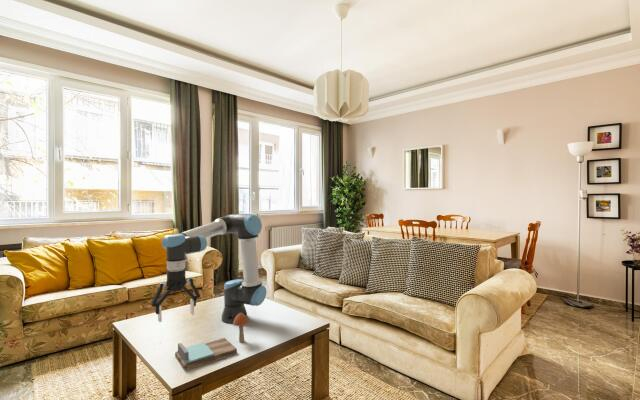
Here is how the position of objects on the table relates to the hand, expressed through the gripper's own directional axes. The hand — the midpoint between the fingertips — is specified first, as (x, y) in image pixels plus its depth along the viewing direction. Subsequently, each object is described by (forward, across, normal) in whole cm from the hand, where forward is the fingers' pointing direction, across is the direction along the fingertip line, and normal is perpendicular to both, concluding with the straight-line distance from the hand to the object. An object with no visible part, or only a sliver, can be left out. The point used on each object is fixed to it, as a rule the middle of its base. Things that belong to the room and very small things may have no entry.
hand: (176, 317), depth 144 cm
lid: (+19, +9, +1) cm, 21 cm away
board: (+22, +15, +1) cm, 26 cm away
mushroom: (+22, +33, +4) cm, 39 cm away
